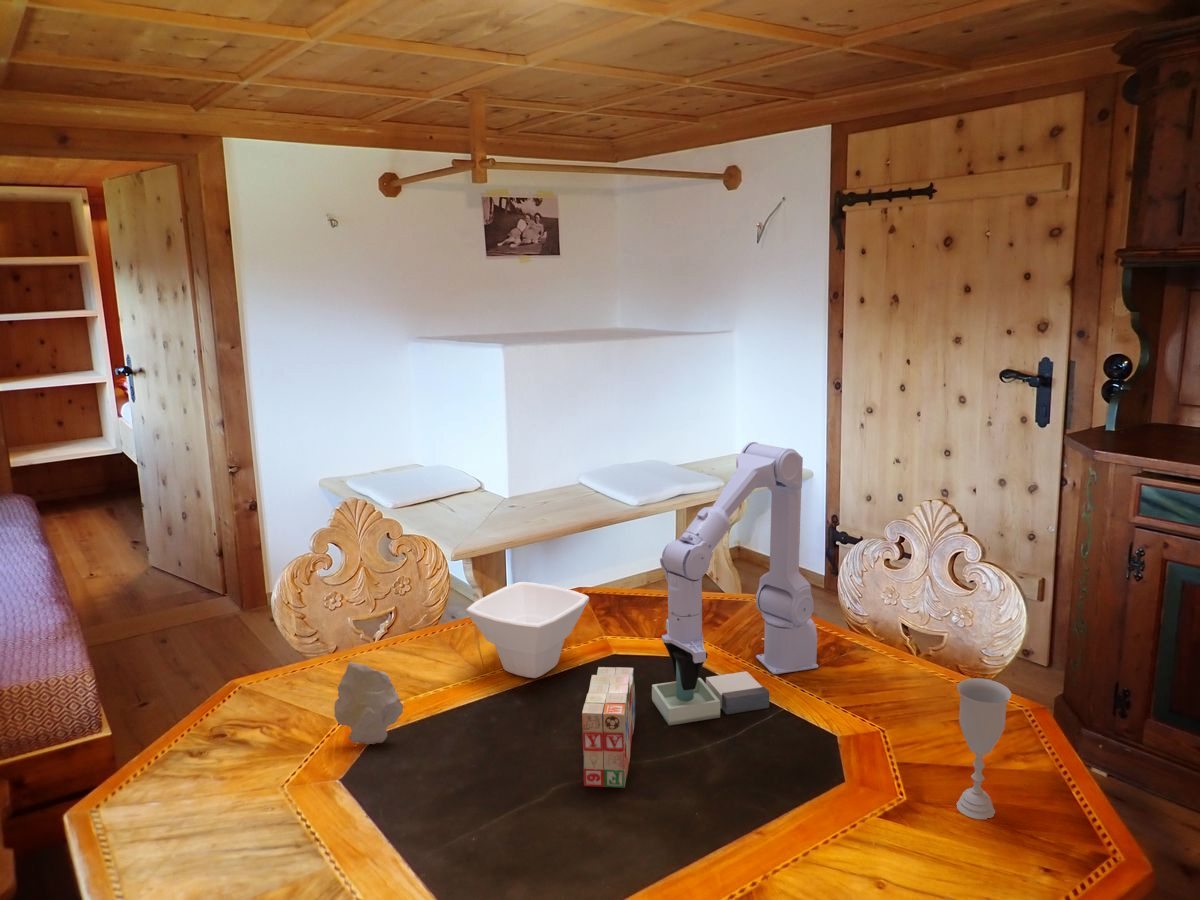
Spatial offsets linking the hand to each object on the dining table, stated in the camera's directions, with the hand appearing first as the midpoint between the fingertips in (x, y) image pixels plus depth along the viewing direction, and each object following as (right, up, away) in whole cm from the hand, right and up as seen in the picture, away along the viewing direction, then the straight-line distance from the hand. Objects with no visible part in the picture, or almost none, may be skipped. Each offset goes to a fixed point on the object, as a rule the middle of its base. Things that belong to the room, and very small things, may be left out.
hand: (685, 684), depth 154 cm
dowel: (0, -2, 0) cm, 2 cm away
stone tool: (-52, -8, -8) cm, 53 cm away
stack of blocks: (-13, -8, -11) cm, 19 cm away
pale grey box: (+9, -4, +5) cm, 11 cm away
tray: (0, -5, +1) cm, 5 cm away
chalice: (+38, -10, -29) cm, 49 cm away
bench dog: (+11, -4, +1) cm, 11 cm away
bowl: (-28, -2, +17) cm, 33 cm away
